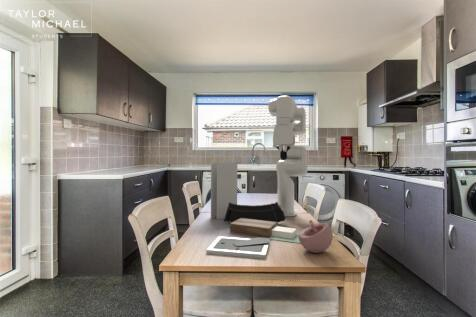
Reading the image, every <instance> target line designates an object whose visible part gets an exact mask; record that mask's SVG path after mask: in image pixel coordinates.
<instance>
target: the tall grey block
mask: <svg viewBox="0 0 476 317" xmlns="http://www.w3.org/2000/svg"><path fill="white" fill-rule="evenodd" d="M210 163H211V164H210V218H211V217H213V218H216V220H217V219H218V220H222V218H223V219H224V218H225V215H226V212H227V208H228V205H229V202H230V203H233V204H237V205H238V162H237V161H216V162H215V161H214V162H213V161H212V162H210Z"/></svg>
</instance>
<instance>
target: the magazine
mask: <svg viewBox="0 0 476 317" xmlns="http://www.w3.org/2000/svg"><path fill="white" fill-rule="evenodd" d="M240 218H246V219H255V220H264V221H272V222H277V225H279V223H281V222H284V221H285V220H286V216H285V215H284V212H283V210H282V208H281V205H280V204H279V205H278V202H277V201H276V202H273V203H268V204H262V205H261V204H260V205H259V204H258V205H250V204H249V205H248V204H247V205H246V204H238V203H237V204H233V203H230V202H229V205H228V208H227V212H226V215H225V218H223V222H228V223H232V222H234V221H236V220H238V219H240Z"/></svg>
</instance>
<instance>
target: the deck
mask: <svg viewBox="0 0 476 317" xmlns="http://www.w3.org/2000/svg"><path fill="white" fill-rule="evenodd" d="M277 223H278V222H272V221H264V220H255V219H246V218H240V219H238V220H236V221H234V222H229V234H230V233H231V234H237V235H245V236H252V237H257V238H270V237H271V233H272V229H274V228H275V227H276V226H278V224H277Z"/></svg>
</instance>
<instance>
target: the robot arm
mask: <svg viewBox="0 0 476 317" xmlns="http://www.w3.org/2000/svg"><path fill="white" fill-rule="evenodd" d="M267 108H268V109H267V110H268V113H269V114H270V115H271V116H273V117H275V120H276V121H275V122H276V123H275V125H274V129H273V132H272V133H273V135H272V148H273V149H274V148H275V149H277V150H278V151H279V158H280V160H277V162H276V168H275V169H276V175H277V176H276V177H277V191H276V192H277V195H276V196H277V199H276V200H277V201H276V202H278V205H279V204H280V205H281V208H282V210H283V212H284V215H285V217H294V216H297V212H296V211H295V182H294V181H293V179H292V178H291V177H305V176H306V175H307V173H308V151H307V149H306V147H305V146H301V145H299V146H298V145H295V144H296V136H301V135H304V134H305V133H306V126H307V124H306V123H307V122H306V120H307V119H306V115H307V114H306V110H305V107H303V106H298V104H297V101H296V100H295V99H294V98H292V97H291V96H290V95H280V96H277V98H273V99H270V100H269V102H268V105H267Z"/></svg>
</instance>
